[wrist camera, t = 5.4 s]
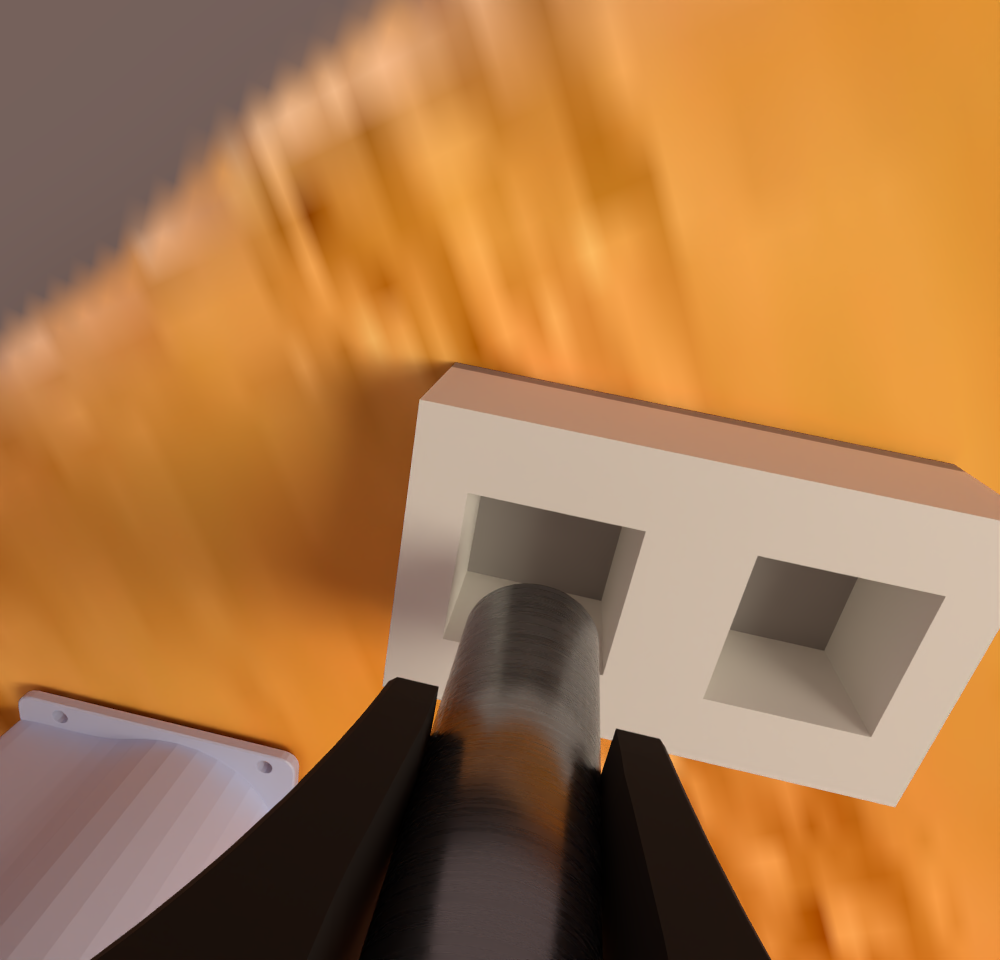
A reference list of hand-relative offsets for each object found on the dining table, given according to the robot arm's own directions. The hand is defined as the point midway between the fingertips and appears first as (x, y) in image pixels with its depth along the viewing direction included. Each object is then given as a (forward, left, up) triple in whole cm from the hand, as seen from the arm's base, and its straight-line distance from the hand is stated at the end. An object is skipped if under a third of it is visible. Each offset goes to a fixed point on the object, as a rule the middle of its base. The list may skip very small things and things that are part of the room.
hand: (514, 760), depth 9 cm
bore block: (+3, 0, -8) cm, 9 cm away
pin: (0, 0, -3) cm, 3 cm away
